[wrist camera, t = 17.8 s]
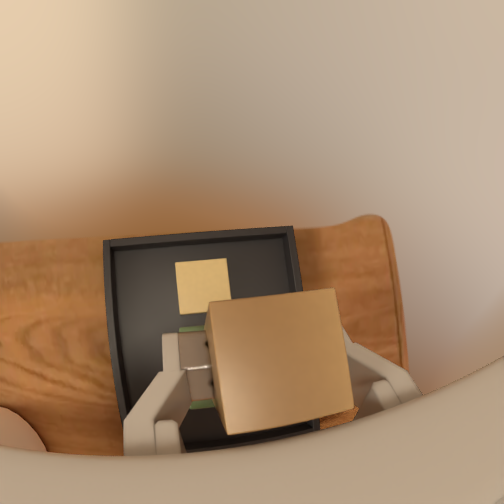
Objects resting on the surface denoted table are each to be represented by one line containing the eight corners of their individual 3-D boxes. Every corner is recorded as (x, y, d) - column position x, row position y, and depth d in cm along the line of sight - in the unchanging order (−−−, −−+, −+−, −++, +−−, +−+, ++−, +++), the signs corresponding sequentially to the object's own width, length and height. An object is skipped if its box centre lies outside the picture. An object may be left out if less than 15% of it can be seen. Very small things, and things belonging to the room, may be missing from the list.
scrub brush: (280, 320, 16) (367, 270, 8) (291, 389, 15) (391, 408, 7) (181, 331, 15) (161, 291, 7) (190, 404, 14) (182, 453, 6)
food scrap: (225, 260, 26) (226, 257, 25) (231, 310, 25) (232, 309, 25) (175, 264, 25) (175, 262, 24) (180, 315, 25) (179, 314, 24)
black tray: (285, 232, 29) (292, 225, 27) (311, 426, 25) (320, 432, 23) (108, 246, 25) (102, 240, 23) (133, 450, 22) (129, 459, 20)
